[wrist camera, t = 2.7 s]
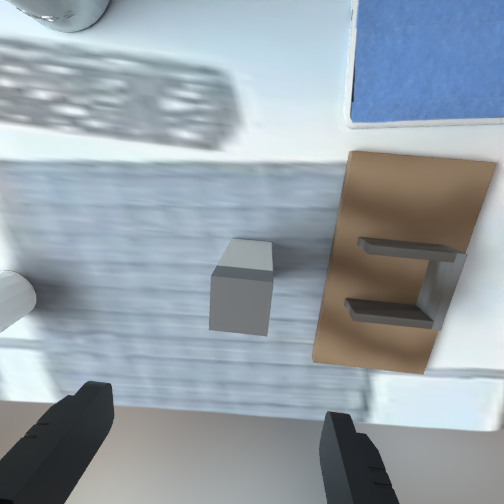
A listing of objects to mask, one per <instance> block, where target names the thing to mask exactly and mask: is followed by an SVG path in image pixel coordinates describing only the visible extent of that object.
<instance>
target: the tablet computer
mask: <svg viewBox="0 0 504 504" xmlns="http://www.w3.org/2000/svg"><path fill="white" fill-rule="evenodd" d="M343 122H344V124H345V126H346V127H348V128H350V129H368V128H393V127H422V126H453V125H483V124H504V0H352V5H351V20H350V33H349V46H348V59H347V72H346V85H345V97H344V109H343Z"/></svg>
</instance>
